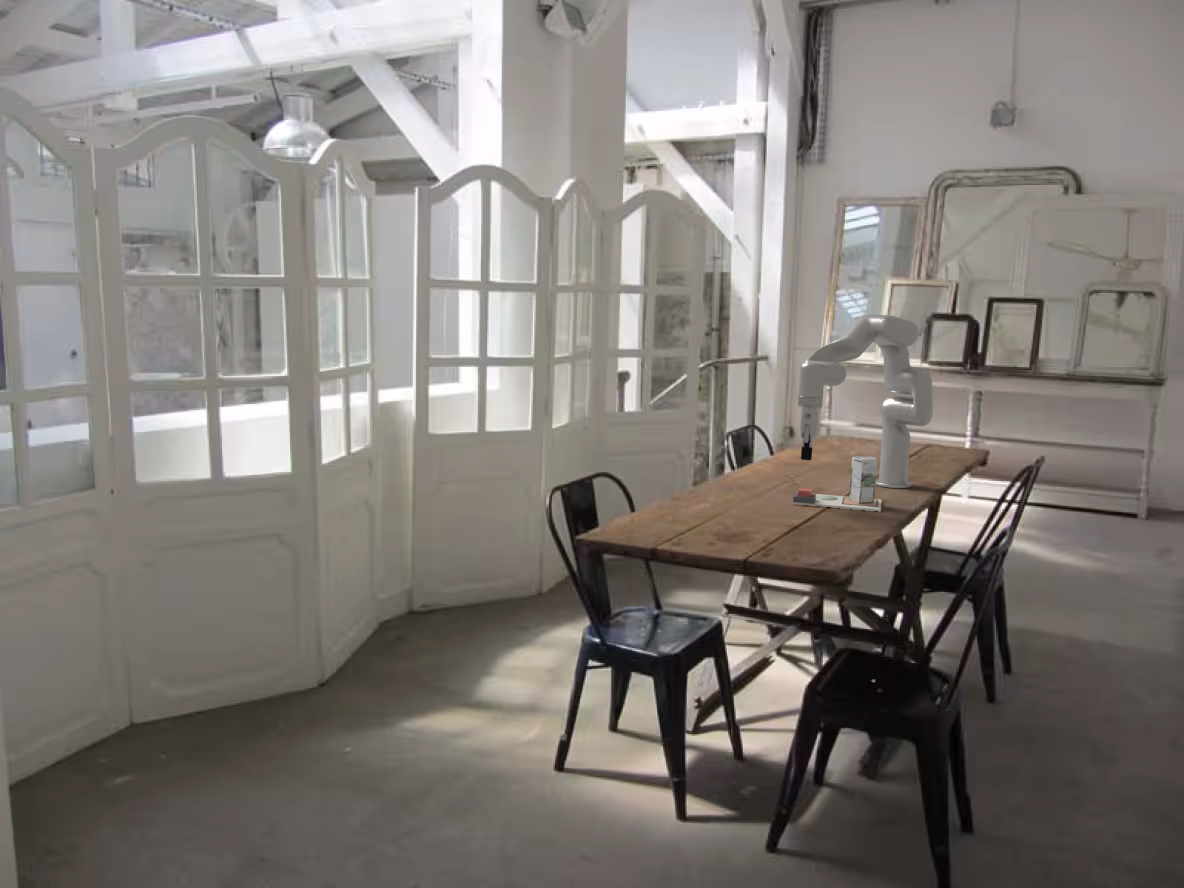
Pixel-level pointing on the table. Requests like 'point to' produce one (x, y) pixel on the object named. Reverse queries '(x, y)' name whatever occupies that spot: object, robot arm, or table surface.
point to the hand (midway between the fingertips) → (806, 459)
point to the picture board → (836, 502)
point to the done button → (805, 492)
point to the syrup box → (863, 479)
